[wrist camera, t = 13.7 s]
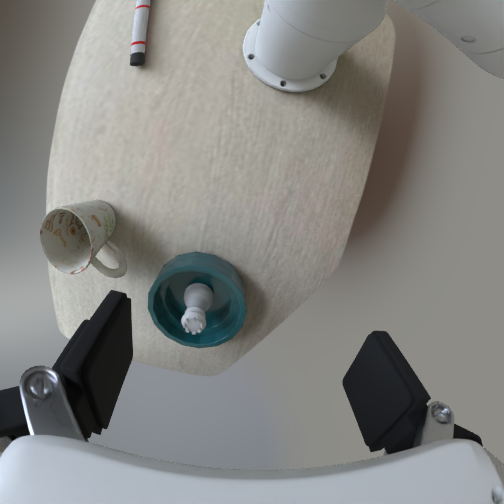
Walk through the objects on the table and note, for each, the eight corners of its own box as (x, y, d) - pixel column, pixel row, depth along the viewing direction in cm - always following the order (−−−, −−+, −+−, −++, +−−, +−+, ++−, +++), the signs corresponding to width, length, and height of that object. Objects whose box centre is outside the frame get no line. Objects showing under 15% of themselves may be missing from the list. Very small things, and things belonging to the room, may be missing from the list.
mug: (95, 179, 33) (57, 192, 24) (154, 238, 37) (131, 268, 28) (69, 220, 35) (31, 242, 26) (123, 274, 39) (97, 309, 30)
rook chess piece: (216, 284, 40) (212, 315, 32) (212, 309, 41) (208, 342, 34) (186, 279, 39) (176, 309, 32) (183, 304, 41) (174, 336, 33)
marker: (145, 64, 28) (141, 60, 26) (132, 66, 28) (127, 63, 26) (154, -15, 22) (151, -21, 20) (142, -13, 22) (138, -18, 20)
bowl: (160, 243, 37) (150, 256, 33) (253, 260, 39) (255, 276, 35) (154, 319, 42) (147, 337, 37) (235, 333, 44) (235, 353, 39)
